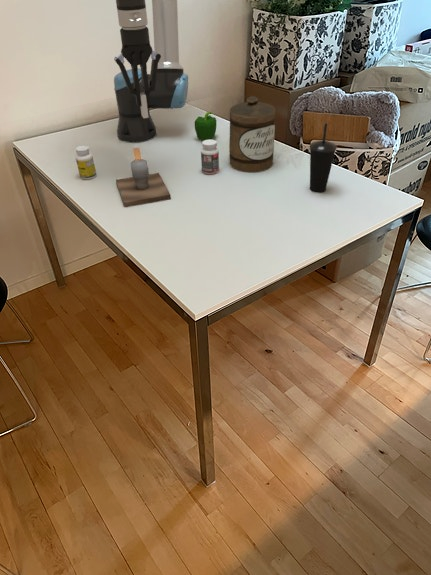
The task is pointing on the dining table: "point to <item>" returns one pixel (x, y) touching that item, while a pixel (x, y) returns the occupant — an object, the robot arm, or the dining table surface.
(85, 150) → the supplement bottle
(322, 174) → the drinking cup
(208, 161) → the pill bottle
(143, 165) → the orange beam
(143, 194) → the base
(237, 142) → the wooden container
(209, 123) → the bell pepper
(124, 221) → the dining table surface
